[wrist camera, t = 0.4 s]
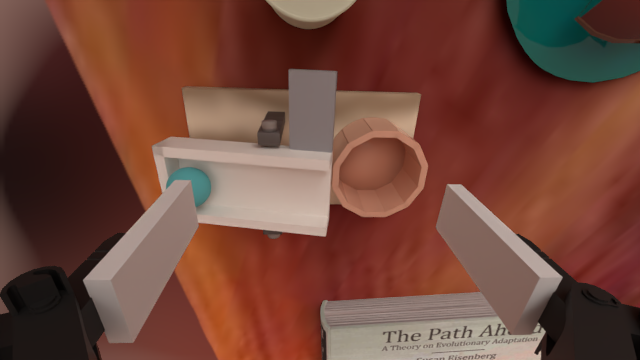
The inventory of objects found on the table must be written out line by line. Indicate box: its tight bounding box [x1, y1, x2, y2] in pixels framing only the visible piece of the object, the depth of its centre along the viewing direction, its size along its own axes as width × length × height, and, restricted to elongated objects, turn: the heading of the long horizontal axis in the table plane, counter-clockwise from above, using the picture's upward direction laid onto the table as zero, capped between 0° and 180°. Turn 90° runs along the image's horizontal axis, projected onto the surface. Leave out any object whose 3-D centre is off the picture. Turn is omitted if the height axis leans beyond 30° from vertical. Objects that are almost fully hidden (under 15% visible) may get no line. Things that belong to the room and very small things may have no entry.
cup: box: [331, 117, 428, 217], centre depth 34 cm, size 10×10×6 cm
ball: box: [166, 167, 211, 207], centre depth 28 cm, size 4×4×4 cm
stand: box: [182, 86, 421, 239], centre depth 33 cm, size 15×28×10 cm, turn 88°
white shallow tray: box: [152, 69, 337, 237], centre depth 27 cm, size 15×16×3 cm
